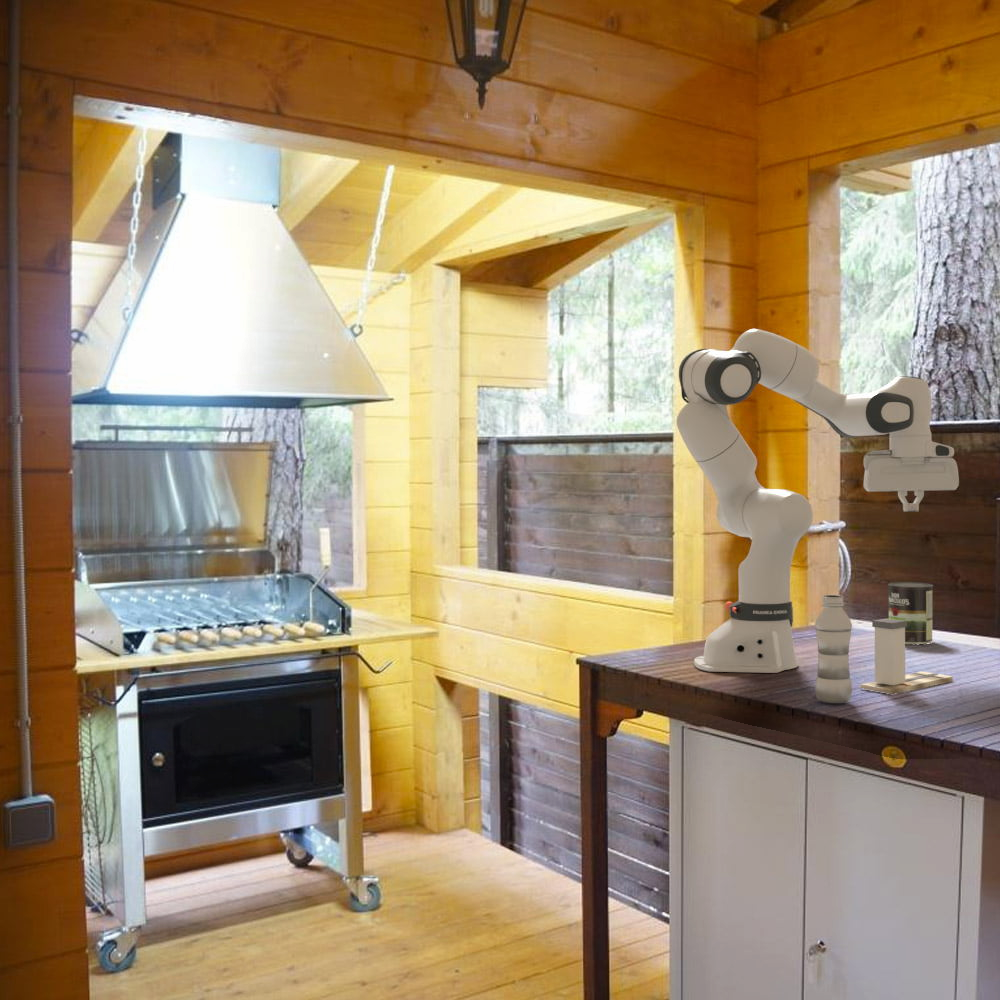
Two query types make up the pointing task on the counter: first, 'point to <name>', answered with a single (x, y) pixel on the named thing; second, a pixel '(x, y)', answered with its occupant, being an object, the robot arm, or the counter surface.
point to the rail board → (910, 683)
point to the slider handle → (889, 651)
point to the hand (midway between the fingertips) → (910, 511)
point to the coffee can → (912, 609)
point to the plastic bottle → (833, 652)
